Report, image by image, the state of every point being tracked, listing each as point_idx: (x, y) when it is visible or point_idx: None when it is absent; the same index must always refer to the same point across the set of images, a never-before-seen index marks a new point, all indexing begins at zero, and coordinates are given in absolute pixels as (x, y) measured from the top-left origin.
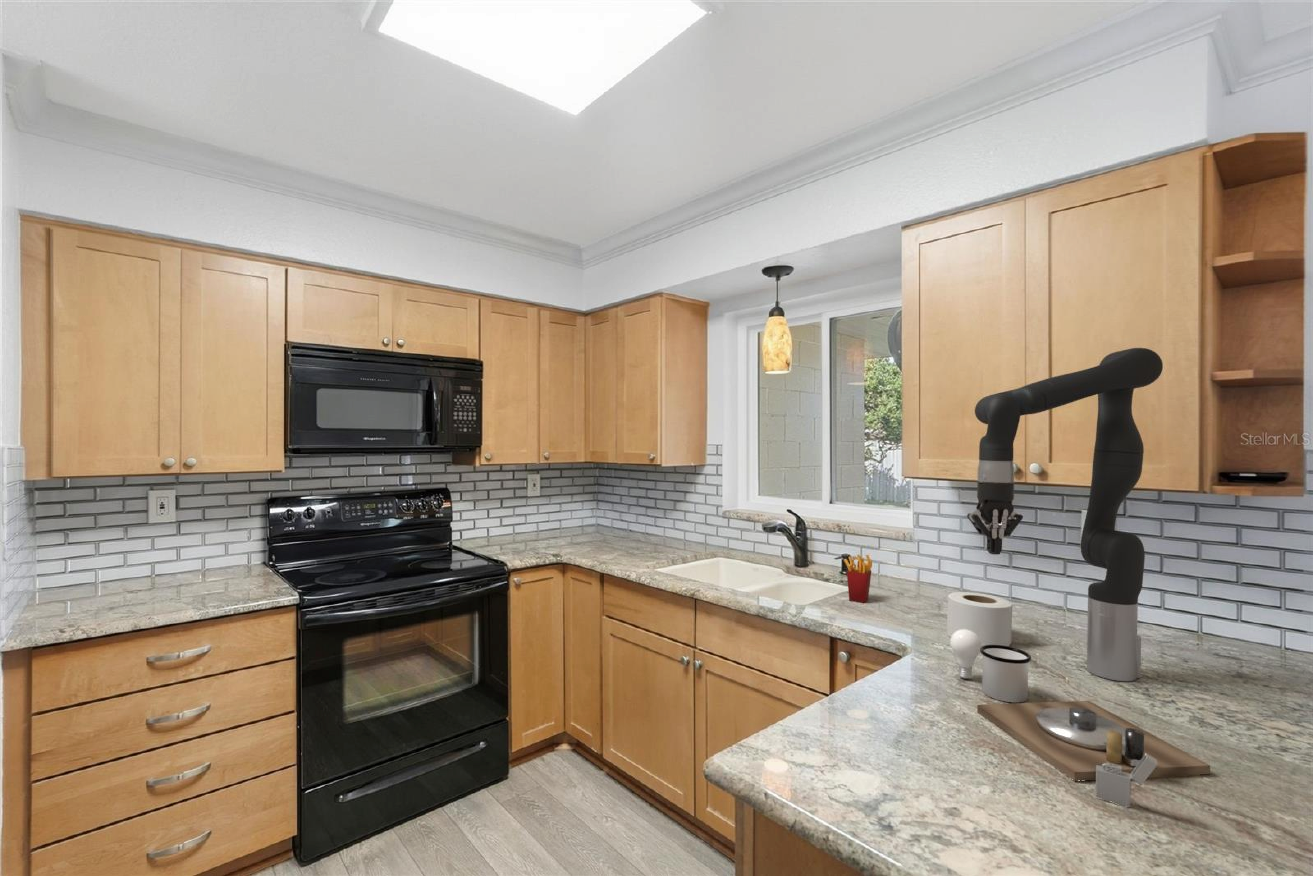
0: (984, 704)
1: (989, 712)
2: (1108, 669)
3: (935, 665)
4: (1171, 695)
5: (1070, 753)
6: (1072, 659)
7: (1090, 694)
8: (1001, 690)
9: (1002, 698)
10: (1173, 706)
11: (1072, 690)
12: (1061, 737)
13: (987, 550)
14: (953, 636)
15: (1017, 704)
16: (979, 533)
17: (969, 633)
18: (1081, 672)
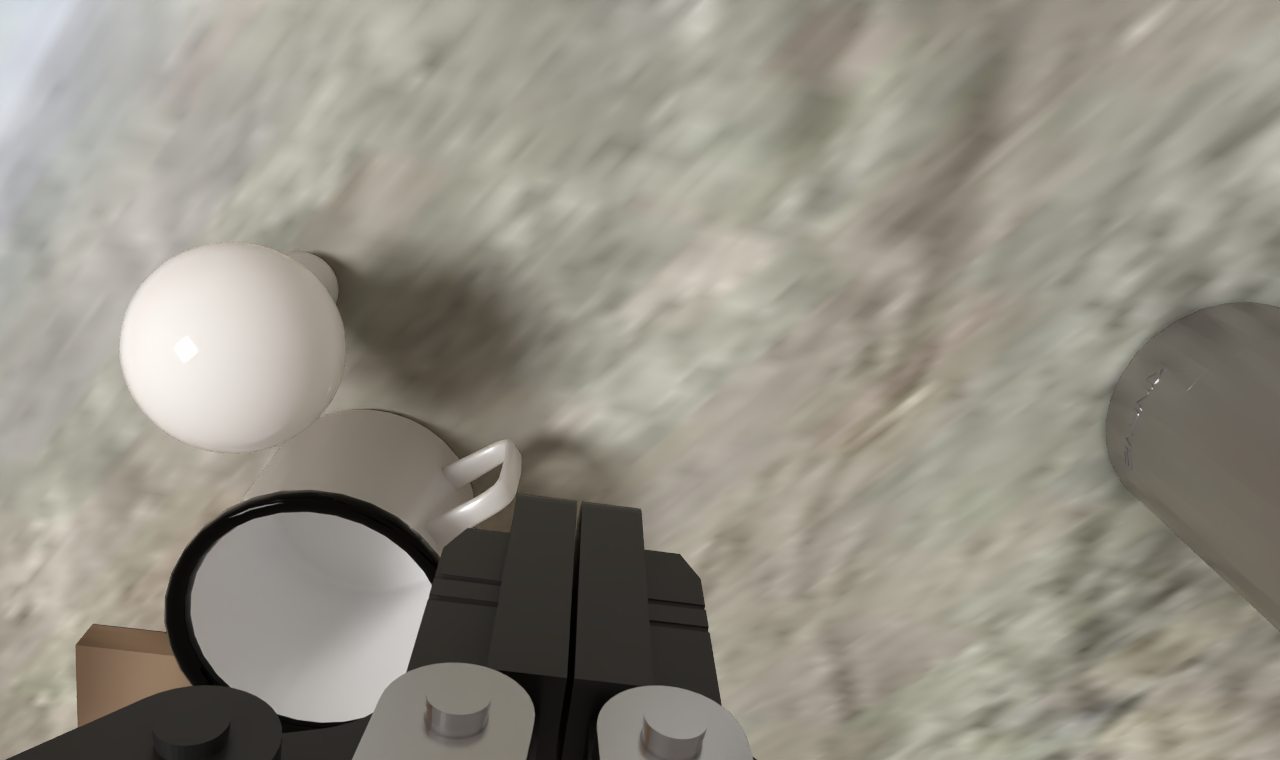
0: (113, 649)
1: (81, 714)
2: (1139, 493)
3: (254, 47)
4: (1196, 664)
5: None
6: (1264, 170)
7: (823, 582)
8: (278, 589)
9: (294, 572)
10: (1061, 743)
11: (781, 529)
12: None
13: (462, 534)
14: (121, 337)
15: None
16: (143, 720)
17: (196, 427)
18: (1084, 354)
